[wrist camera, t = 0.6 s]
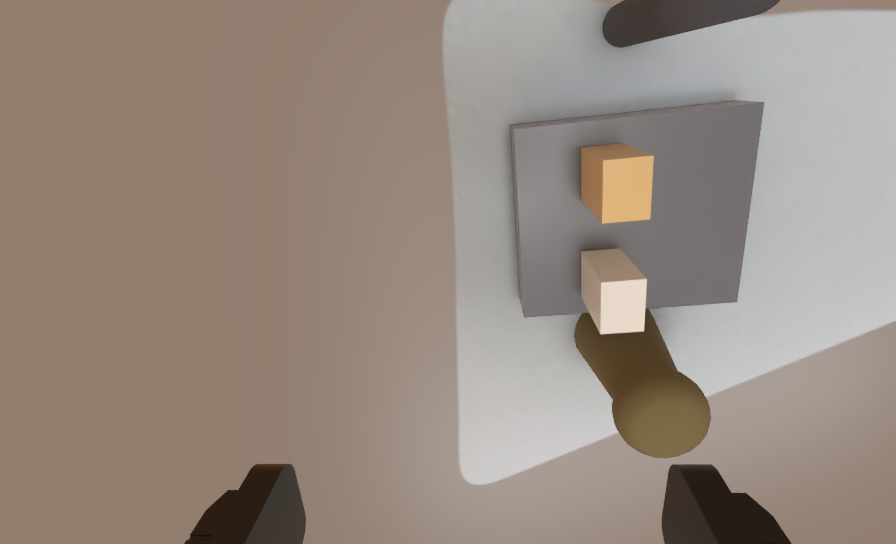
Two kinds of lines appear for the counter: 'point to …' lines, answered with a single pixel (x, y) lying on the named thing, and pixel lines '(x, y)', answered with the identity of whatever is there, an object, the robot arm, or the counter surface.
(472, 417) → the counter surface
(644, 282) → the cream rectangular block
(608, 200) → the block
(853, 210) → the counter surface
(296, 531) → the robot arm
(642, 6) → the post
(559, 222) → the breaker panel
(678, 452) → the olive knobbed post
